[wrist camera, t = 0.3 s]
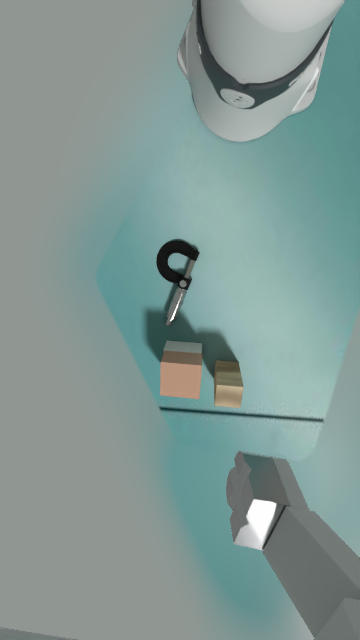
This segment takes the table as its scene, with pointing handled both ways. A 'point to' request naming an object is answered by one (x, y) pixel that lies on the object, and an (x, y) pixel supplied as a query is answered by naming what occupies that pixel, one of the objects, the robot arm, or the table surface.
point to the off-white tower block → (183, 347)
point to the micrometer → (176, 274)
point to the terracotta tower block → (181, 374)
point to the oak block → (227, 384)
